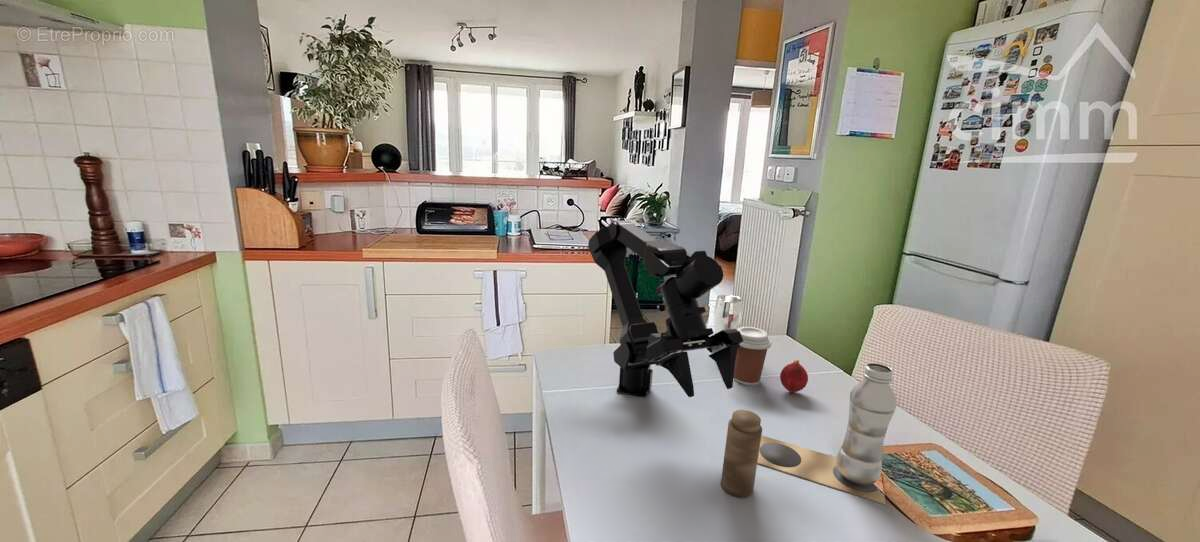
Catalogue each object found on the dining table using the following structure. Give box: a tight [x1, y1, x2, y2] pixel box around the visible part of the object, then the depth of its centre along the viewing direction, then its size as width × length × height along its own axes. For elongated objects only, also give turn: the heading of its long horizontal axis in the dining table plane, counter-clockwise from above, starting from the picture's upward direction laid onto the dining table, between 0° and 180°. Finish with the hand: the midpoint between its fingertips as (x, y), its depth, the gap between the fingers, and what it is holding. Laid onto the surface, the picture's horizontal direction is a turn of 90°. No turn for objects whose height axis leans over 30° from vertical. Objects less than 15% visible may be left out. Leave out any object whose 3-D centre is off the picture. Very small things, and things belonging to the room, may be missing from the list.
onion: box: [779, 359, 809, 394], centre depth 106 cm, size 6×6×8 cm
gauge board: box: [757, 434, 886, 505], centre depth 81 cm, size 21×9×1 cm, turn 63°
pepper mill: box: [720, 409, 763, 499], centre depth 74 cm, size 5×5×12 cm
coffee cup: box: [733, 326, 773, 386], centre depth 111 cm, size 9×9×12 cm
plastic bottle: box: [835, 362, 898, 485], centre depth 76 cm, size 6×7×20 cm
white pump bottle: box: [713, 294, 743, 334], centre depth 126 cm, size 7×7×15 cm
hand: (711, 392), depth 81 cm, fingers open, 9 cm apart
